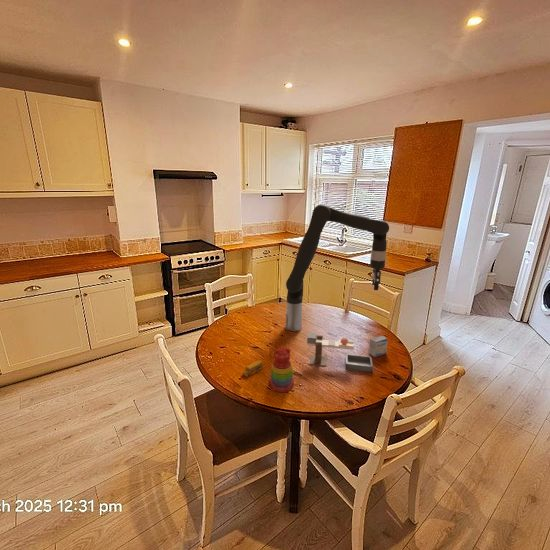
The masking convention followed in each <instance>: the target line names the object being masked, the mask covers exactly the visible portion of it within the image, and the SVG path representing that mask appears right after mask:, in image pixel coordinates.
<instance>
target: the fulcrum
mask: <svg viewBox="0 0 550 550" xmlns="http://www.w3.org/2000/svg"><path fill="white" fill-rule="evenodd" d="M316 339H321V340H324V335H320V334H317V338H316ZM314 350H315V351H314V352H315V354H310V359H309V365H310V366H317V367H318V366H319V367H327V362H328V361H327V360H328V356H326V355H323V347H322V342H316V346H315V349H314Z"/></svg>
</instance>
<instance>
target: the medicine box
mask: <svg viewBox="0 0 550 550" xmlns="http://www.w3.org/2000/svg"><path fill="white" fill-rule="evenodd" d="M368 347H369V348H368V354H369V356H371V357H374V358H377V357H380V356H383V355H385V354H387V349H388V338H387V337H385V336H383V335H379V336H375V337H372V338H371V337H370V338H369V346H368Z"/></svg>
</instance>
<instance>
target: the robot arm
mask: <svg viewBox="0 0 550 550" xmlns="http://www.w3.org/2000/svg"><path fill="white" fill-rule="evenodd" d="M327 222H333V223H337V224H341V225H344V226H347V227H350V228H353V229H356V230H360V231H367V232H369V233H372V234H373V235H372V236H373V238H372V246H371V253H370V261H369V262H370V263H369V267H370V268H371V269H372V271H371V273H372V275H371V277H372V285H373V290H374V291H379V286H380V284H381V275H382V271H381V269H384V268H385V267H386V259H387V258H386V257H387V246H388V245H387V243H388V242H387V234H388V232H389V231H390V225H389V223H388V222H386V221H385V220H384V219H379V220H378V219H372V218H370V217H368V216H364V215H361V214H354V213H350V212H346V211H342V210H338V209H335V208H333V207H331V206H328V205H326V204H318V205H316V206H315V207H314V209H313V210H312V214H311V218H310V222H309V226H308V228H307V230H306V232H305V234H304V236H303V238H302V240H301V243H300V245H299V248H298V251H297V254H296V257H295V261H294V265H293V268H292V270H291V273H290V274H289V276H288V278H287V280H286V282H285V287H286V289H287V294H286V295H287V296H286V314H285V330H288V331H291V332H299V331H301V330H302V328H303V299H304V298H303V297H304V278H305V275H306V273H307V270H308V269H309V267H310V265H311V263H312V261H313V259H314V258H315V254H316V253H317V250H318V246H319V244H320V238H321V235H322V232H323V230H324V228H325V226H326V224H327Z"/></svg>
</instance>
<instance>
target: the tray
mask: <svg viewBox="0 0 550 550" xmlns="http://www.w3.org/2000/svg"><path fill="white" fill-rule="evenodd" d="M344 359H345V370H347V371H348V370H349V371H354V372H355V371H356V372H364V373H371V374H372V373H373V370H374V366H373V365H374V364H373V358H372V355H363V354H361V355H360V354H354V353H353V354H352V353H345V358H344Z"/></svg>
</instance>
